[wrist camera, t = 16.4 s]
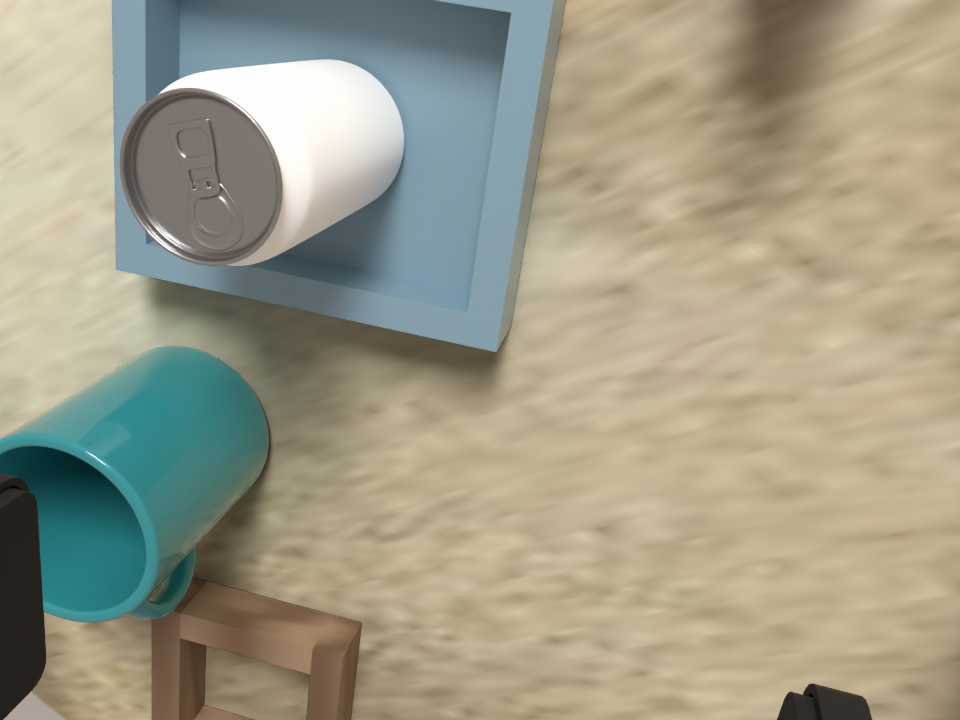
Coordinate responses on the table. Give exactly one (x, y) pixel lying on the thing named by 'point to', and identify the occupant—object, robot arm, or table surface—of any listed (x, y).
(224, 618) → the holder
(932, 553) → the table surface
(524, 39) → the tray
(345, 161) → the can
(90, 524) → the cup
